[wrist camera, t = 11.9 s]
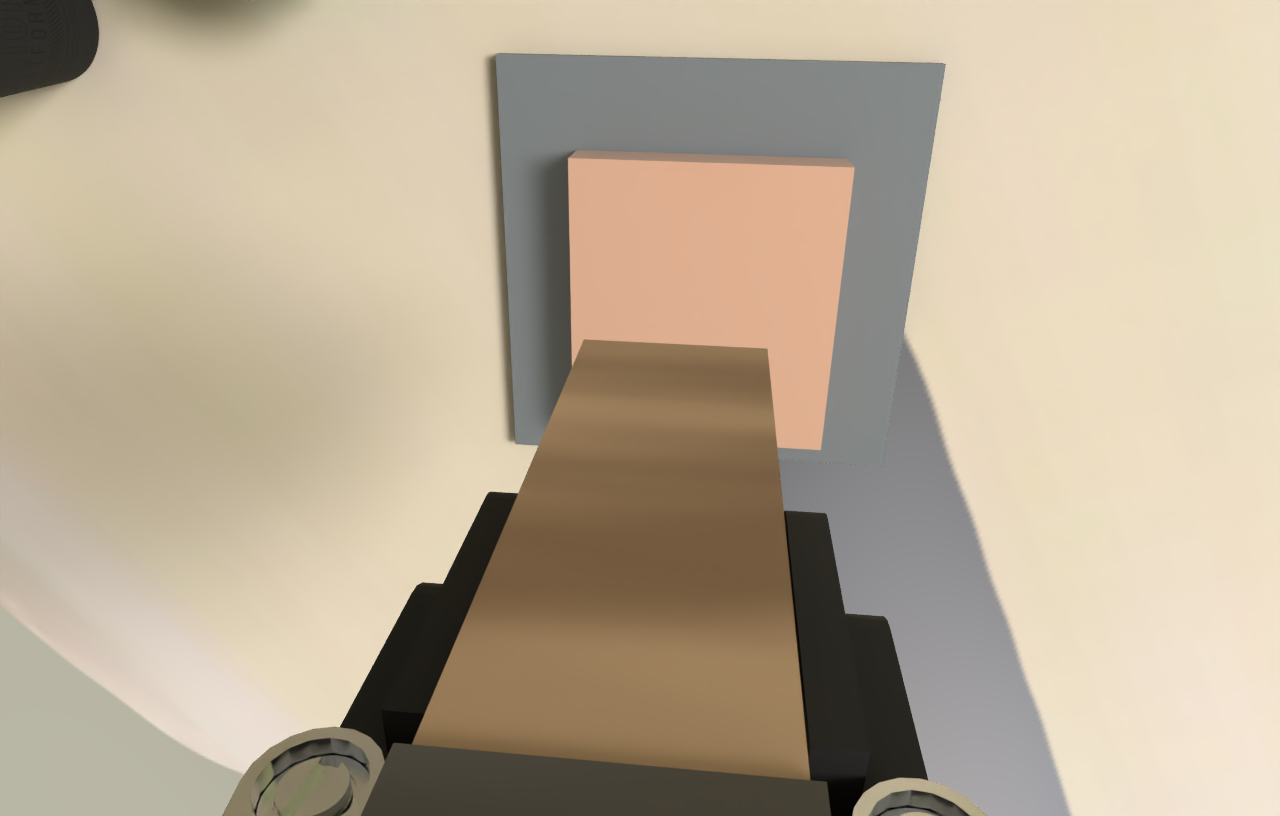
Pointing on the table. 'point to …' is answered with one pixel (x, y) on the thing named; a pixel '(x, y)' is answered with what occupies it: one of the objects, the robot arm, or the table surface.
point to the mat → (728, 125)
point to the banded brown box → (629, 613)
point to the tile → (715, 262)
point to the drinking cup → (45, 42)
